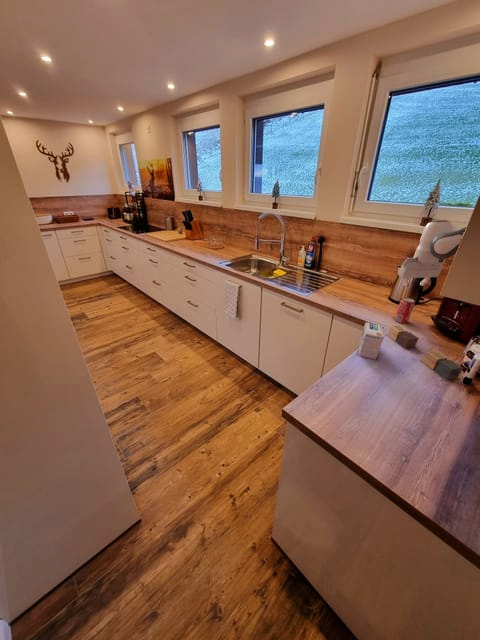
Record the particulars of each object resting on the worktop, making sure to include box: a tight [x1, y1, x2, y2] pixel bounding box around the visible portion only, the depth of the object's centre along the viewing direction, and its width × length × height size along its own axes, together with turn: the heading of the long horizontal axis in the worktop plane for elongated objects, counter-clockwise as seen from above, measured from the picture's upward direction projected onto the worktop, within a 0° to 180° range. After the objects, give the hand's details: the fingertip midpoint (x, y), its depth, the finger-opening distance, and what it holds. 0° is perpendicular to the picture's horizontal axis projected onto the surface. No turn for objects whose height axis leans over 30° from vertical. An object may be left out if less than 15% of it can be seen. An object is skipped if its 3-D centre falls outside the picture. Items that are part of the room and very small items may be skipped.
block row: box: [387, 325, 464, 381], centre depth 108 cm, size 5×31×5 cm, turn 13°
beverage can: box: [394, 297, 415, 324], centre depth 133 cm, size 6×6×12 cm
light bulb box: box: [358, 321, 385, 360], centre depth 108 cm, size 11×7×11 cm, turn 157°
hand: (414, 285), depth 126 cm, fingers open, 8 cm apart
